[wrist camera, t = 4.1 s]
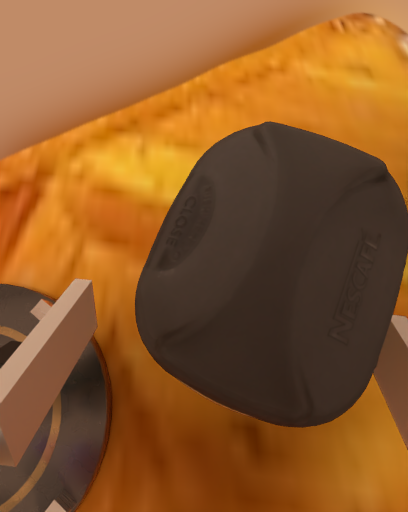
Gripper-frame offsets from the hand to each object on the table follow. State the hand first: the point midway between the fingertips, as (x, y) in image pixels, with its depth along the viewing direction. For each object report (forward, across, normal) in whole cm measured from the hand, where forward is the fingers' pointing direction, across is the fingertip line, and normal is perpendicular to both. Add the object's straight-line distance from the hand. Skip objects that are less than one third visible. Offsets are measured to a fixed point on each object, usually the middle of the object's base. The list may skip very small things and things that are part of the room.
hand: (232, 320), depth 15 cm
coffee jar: (+10, +1, -7) cm, 12 cm away
